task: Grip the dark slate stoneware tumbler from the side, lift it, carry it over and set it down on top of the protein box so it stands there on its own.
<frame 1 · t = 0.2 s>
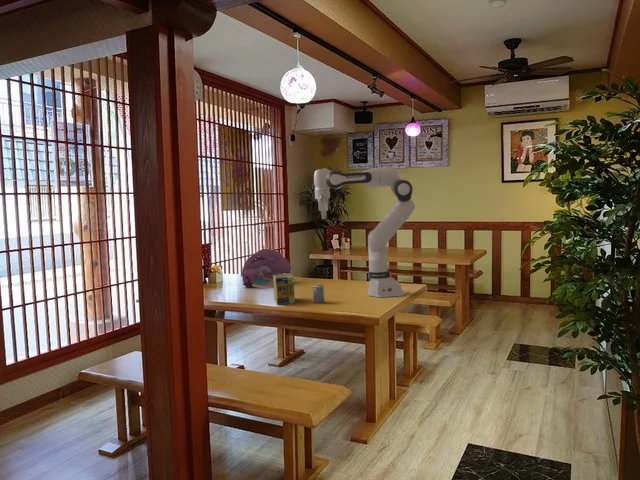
hand: (324, 218, 296), 47 cm above the table, tool pointing down, fingers open, 8 cm apart
tumbler: (319, 302, 284), on the table
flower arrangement: (263, 285, 350), on the table
protein box: (284, 302, 292), on the table
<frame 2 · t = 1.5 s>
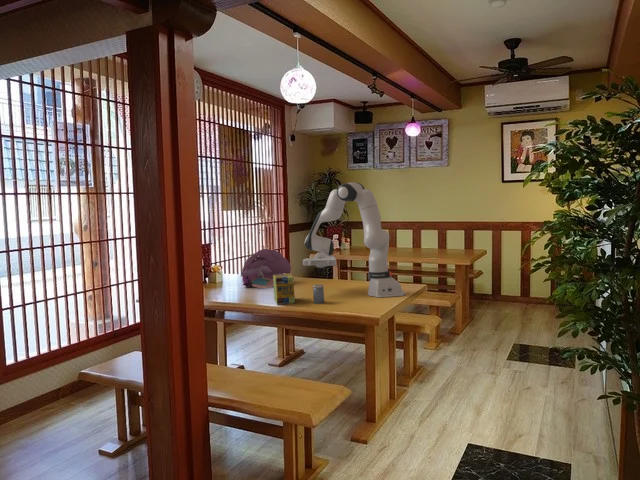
hand: (318, 263, 294), 21 cm above the table, tool horizontal, fingers open, 8 cm apart
nothing on the table moved.
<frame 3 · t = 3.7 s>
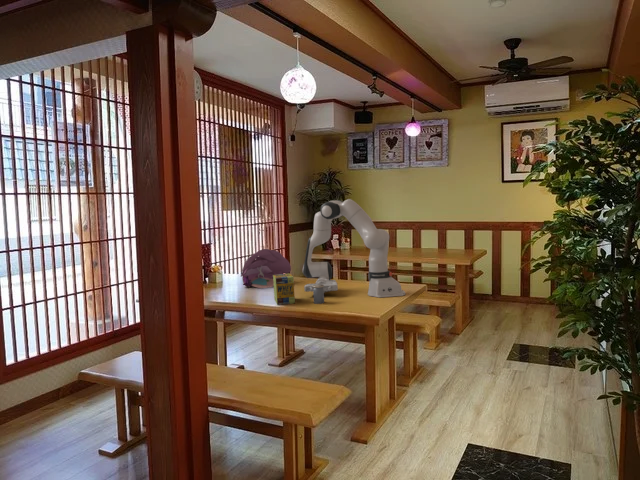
hand: (320, 289, 294), 5 cm above the table, tool horizontal, fingers open, 8 cm apart
nothing on the table moved.
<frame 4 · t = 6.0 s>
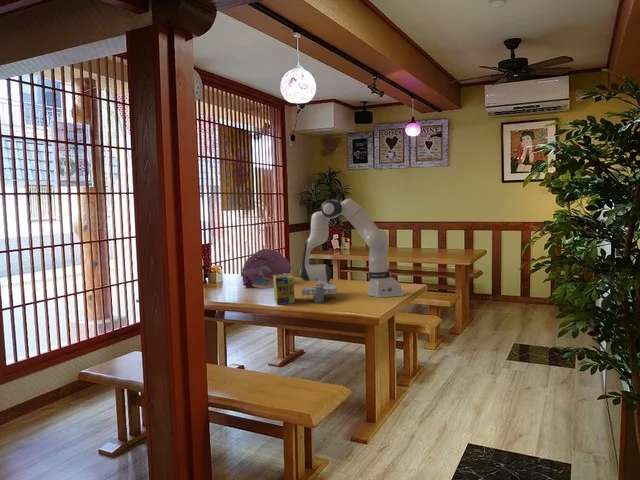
hand: (318, 293, 283), 6 cm above the table, tool horizontal, fingers closed on tumbler, 6 cm apart
tumbler: (319, 302, 284), on the table, touching gripper
everything else where it was.
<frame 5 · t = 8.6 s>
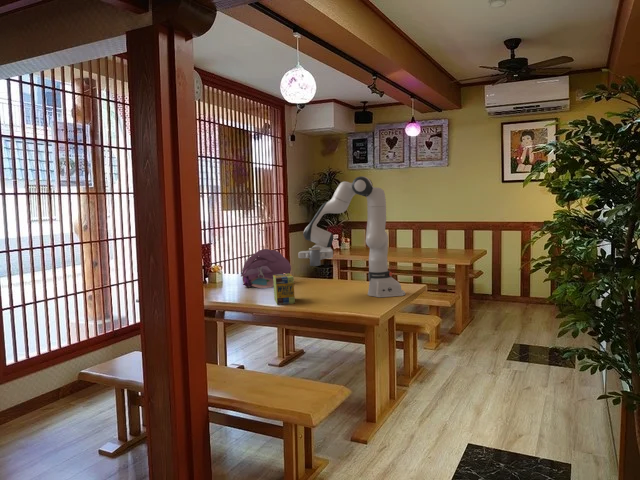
hand: (314, 256, 281), 27 cm above the table, tool horizontal, fingers closed on tumbler, 6 cm apart
tumbler: (315, 265, 283), point 22 cm above the table, touching gripper
everything else where it was.
when the fingers open (23 cm above the table, at t = 11.3 s): tumbler drops 2 cm, resting on protein box.
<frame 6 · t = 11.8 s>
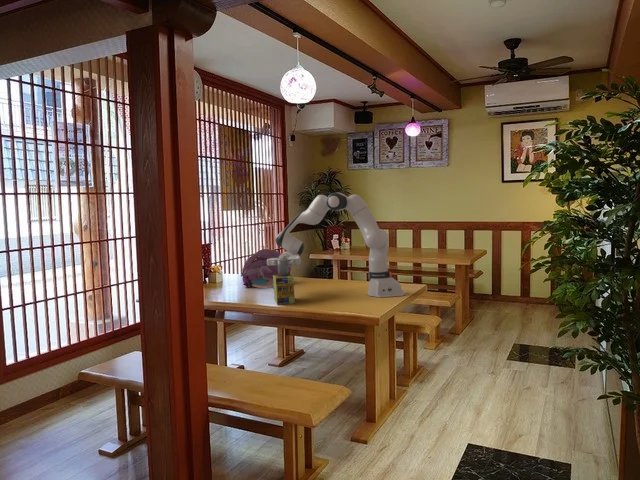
hand: (282, 263, 289), 23 cm above the table, tool horizontal, fingers open, 8 cm apart
tumbler: (283, 275, 291), point 15 cm above the table, touching protein box
protein box: (284, 302, 292), on the table, touching tumbler
everything else where it was.
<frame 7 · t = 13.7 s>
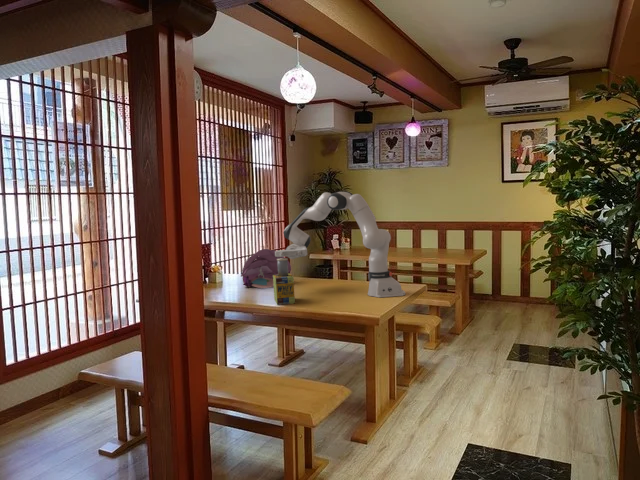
hand: (289, 254, 302), 26 cm above the table, tool horizontal, fingers open, 8 cm apart
nothing on the table moved.
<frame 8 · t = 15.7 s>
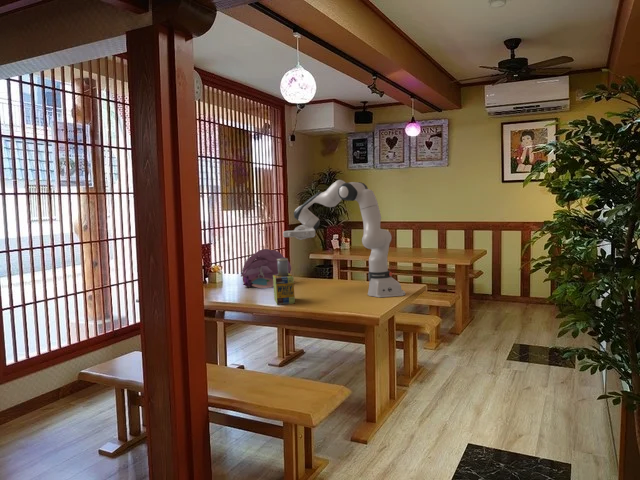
hand: (297, 234, 304), 38 cm above the table, tool horizontal, fingers open, 8 cm apart
nothing on the table moved.
at the end: tumbler inside the target area on the protein box (0.1 cm from its centre), point 15.7 cm above the protein box's base; tumbler tilted 0°; the gripper is holding nothing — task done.
